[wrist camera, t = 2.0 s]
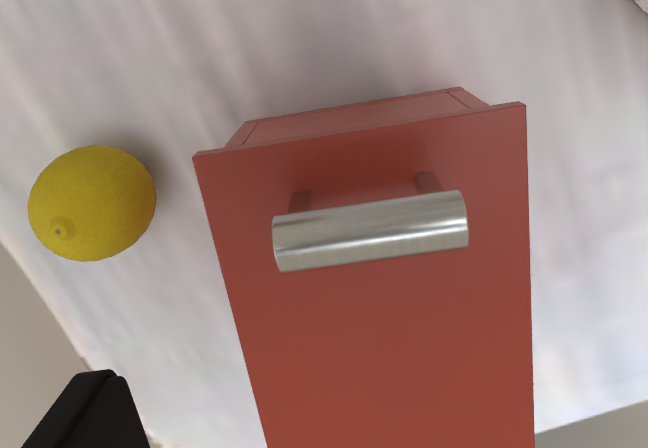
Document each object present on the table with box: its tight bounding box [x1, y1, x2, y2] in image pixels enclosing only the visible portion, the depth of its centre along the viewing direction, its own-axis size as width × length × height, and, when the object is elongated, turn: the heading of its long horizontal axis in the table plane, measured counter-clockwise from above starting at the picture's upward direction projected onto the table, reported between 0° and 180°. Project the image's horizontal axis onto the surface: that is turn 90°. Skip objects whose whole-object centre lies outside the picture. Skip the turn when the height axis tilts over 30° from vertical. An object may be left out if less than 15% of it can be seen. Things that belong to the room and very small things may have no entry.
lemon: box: [28, 145, 156, 262], centre depth 27 cm, size 6×6×8 cm
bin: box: [224, 87, 489, 148], centre depth 27 cm, size 15×12×10 cm
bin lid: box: [192, 101, 535, 448], centre depth 20 cm, size 16×12×6 cm
